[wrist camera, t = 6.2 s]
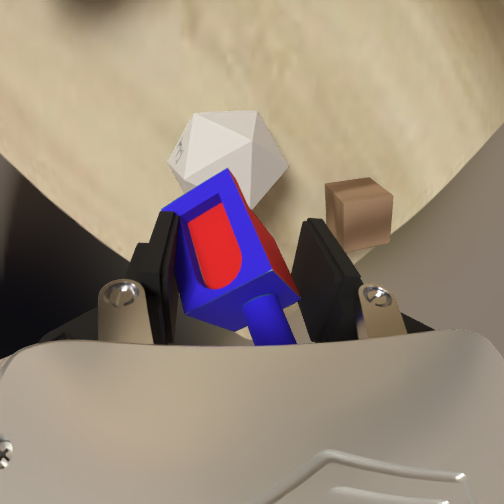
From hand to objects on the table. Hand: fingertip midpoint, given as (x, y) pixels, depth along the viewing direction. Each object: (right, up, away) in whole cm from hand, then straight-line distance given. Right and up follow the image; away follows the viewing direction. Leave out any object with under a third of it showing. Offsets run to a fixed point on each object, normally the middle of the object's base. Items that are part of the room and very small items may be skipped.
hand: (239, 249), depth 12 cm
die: (-2, +9, +14) cm, 17 cm away
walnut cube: (+10, +5, +18) cm, 21 cm away
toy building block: (0, +1, +1) cm, 1 cm away
